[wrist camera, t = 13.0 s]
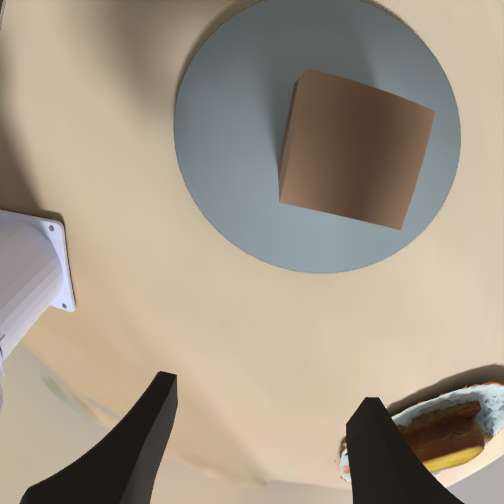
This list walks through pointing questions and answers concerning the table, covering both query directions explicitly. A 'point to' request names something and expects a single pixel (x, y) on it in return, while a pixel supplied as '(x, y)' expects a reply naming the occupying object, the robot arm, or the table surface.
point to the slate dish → (275, 119)
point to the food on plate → (449, 427)
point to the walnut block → (352, 149)
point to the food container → (1, 10)
